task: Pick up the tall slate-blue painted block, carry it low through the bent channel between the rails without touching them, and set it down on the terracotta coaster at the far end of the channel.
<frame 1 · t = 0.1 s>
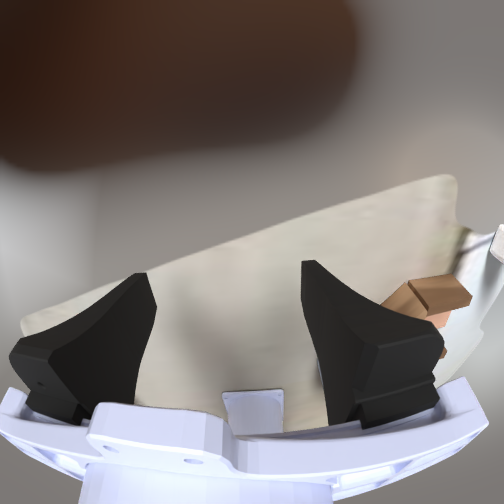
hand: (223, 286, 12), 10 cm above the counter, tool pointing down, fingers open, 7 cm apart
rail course: (396, 327, 28), on the counter
pepper shaker: (498, 238, 23), on the counter
coaster: (433, 307, 27), on the counter
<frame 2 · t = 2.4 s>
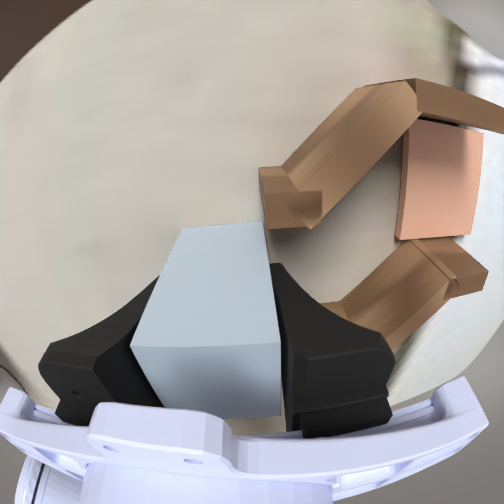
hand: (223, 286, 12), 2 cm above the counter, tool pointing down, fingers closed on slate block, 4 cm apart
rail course: (366, 215, 14), on the counter
flask: (8, 377, 23), on the counter
slate block: (226, 259, 15), on the counter, touching gripper
coaster: (441, 180, 13), on the counter
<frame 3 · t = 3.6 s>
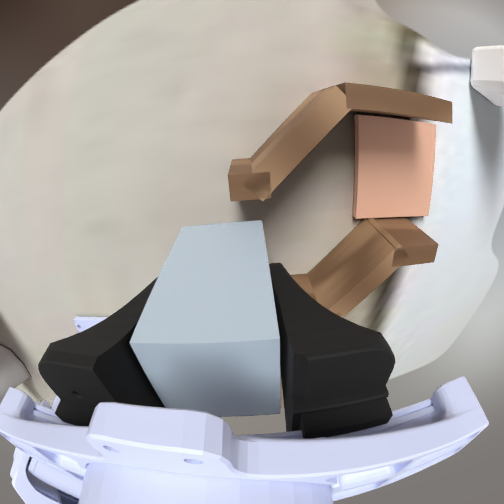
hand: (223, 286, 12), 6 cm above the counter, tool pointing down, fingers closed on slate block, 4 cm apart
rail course: (324, 197, 17), on the counter
pepper shaker: (482, 76, 12), on the counter
flask: (12, 359, 26), on the counter
slate block: (226, 258, 15), point 3 cm above the counter, touching gripper
coaster: (395, 167, 16), on the counter
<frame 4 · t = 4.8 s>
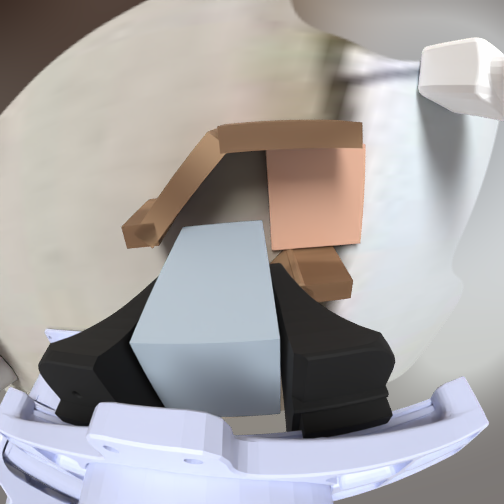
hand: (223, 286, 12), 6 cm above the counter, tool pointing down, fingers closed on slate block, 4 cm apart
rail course: (238, 230, 18), on the counter
pepper shaker: (436, 80, 13), on the counter
flask: (2, 363, 27), on the counter
slate block: (226, 258, 15), point 3 cm above the counter, touching gripper
coaster: (316, 194, 17), on the counter
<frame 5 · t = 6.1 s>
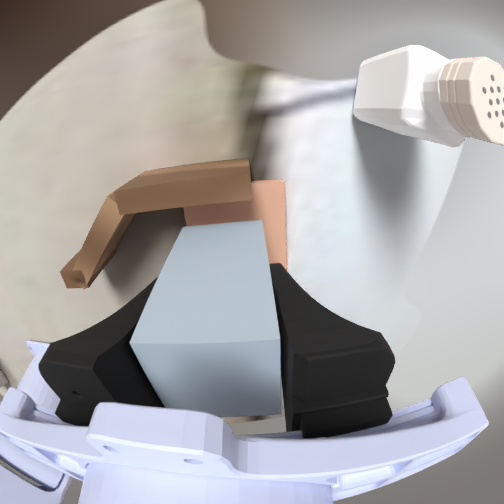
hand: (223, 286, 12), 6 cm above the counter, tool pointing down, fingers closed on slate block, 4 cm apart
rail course: (168, 266, 18), on the counter
pepper shaker: (380, 97, 14), on the counter
slate block: (226, 258, 15), point 3 cm above the counter, touching gripper
coaster: (237, 233, 17), on the counter
when the fingers open (3 cm above the counter, at t = 7.0 s): slate block stays where it is, resting on coaster.
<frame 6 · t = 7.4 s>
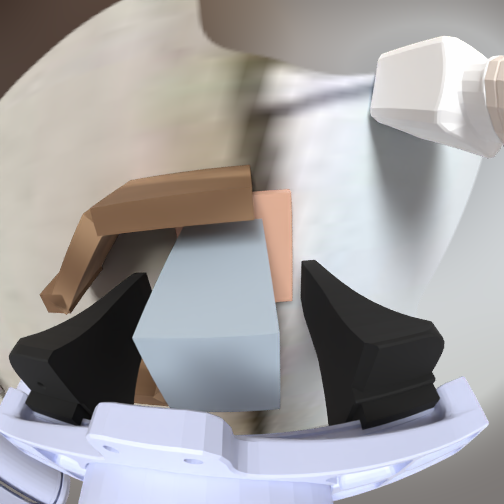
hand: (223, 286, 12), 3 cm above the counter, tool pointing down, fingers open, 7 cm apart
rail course: (159, 286, 16), on the counter
pepper shaker: (399, 96, 11), on the counter
slate block: (226, 256, 15), point 1 cm above the counter, touching coaster
coaster: (236, 251, 15), on the counter
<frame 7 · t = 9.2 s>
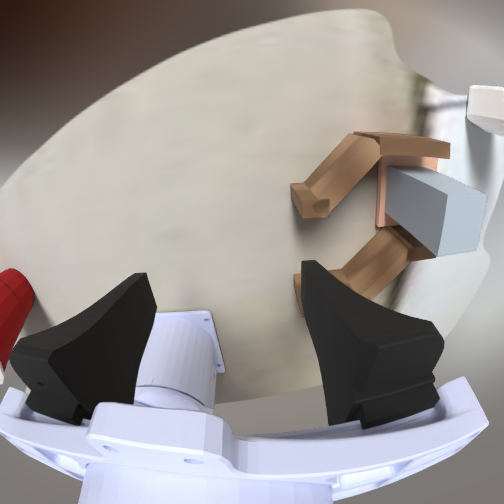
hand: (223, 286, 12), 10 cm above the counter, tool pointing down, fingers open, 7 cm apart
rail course: (355, 211, 22), on the counter
pepper shaker: (476, 108, 17), on the counter
slate block: (405, 188, 20), point 1 cm above the counter, touching coaster
coaster: (406, 187, 21), on the counter
plastic cup: (19, 285, 25), on the counter
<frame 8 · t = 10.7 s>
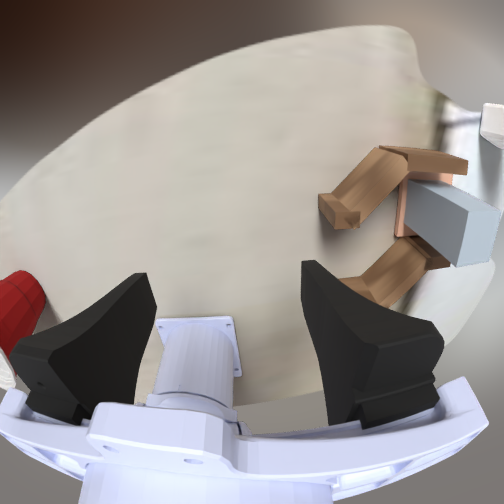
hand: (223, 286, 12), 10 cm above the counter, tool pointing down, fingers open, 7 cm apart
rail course: (377, 221, 22), on the counter
pepper shaker: (488, 124, 18), on the counter
slate block: (423, 201, 21), point 1 cm above the counter, touching coaster
coaster: (423, 199, 21), on the counter
plastic cup: (29, 287, 25), on the counter
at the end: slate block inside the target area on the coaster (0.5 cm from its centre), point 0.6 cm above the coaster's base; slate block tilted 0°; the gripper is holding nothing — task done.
